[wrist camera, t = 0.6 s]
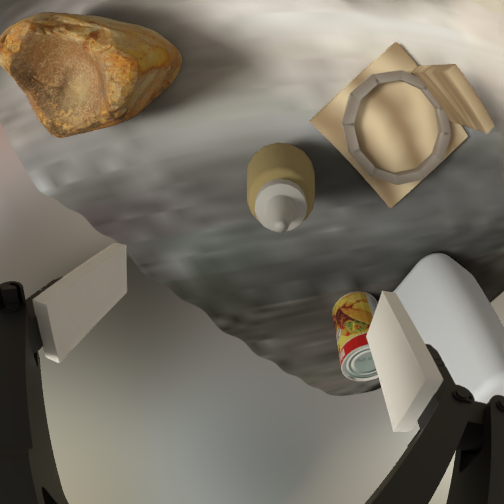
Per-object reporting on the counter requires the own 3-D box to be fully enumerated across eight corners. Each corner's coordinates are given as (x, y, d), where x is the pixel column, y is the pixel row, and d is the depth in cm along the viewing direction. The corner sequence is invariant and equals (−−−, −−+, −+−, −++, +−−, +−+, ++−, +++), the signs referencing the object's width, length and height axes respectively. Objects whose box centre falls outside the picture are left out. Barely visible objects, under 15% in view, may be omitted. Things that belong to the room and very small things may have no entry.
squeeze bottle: (324, 165, 40) (353, 221, 24) (284, 209, 43) (286, 286, 28) (276, 125, 38) (273, 153, 22) (236, 172, 41) (209, 231, 26)
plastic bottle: (427, 337, 53) (472, 464, 29) (372, 309, 50) (413, 462, 26) (480, 279, 46) (556, 400, 21) (430, 240, 43) (523, 381, 19)
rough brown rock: (34, 101, 38) (-33, 128, 25) (65, 4, 29) (-7, 3, 16) (150, 153, 42) (98, 198, 30) (199, 46, 33) (155, 42, 21)
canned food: (322, 311, 51) (329, 367, 41) (358, 282, 48) (375, 335, 38) (351, 334, 53) (362, 387, 43) (386, 308, 50) (405, 360, 40)
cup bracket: (388, 206, 41) (416, 242, 32) (309, 121, 37) (320, 133, 27) (464, 135, 35) (509, 153, 25) (394, 43, 31) (430, 32, 21)
